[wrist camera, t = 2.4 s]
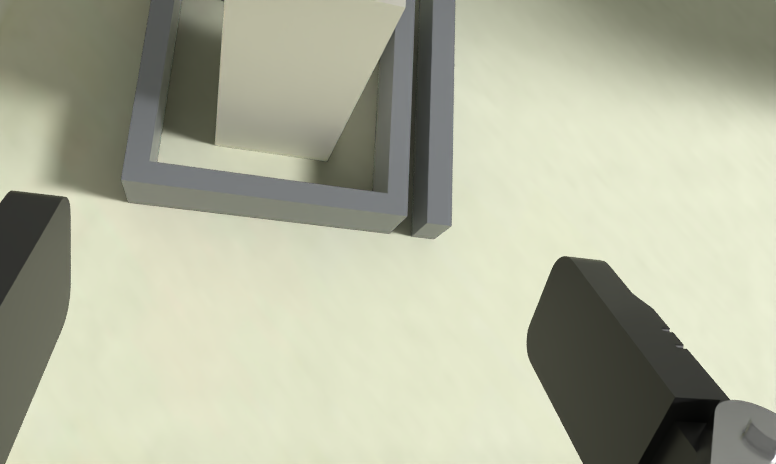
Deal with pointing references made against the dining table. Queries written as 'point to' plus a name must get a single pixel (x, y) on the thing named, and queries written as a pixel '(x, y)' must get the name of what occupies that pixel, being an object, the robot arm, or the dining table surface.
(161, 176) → the panel
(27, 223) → the robot arm
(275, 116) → the plug
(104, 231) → the dining table surface
